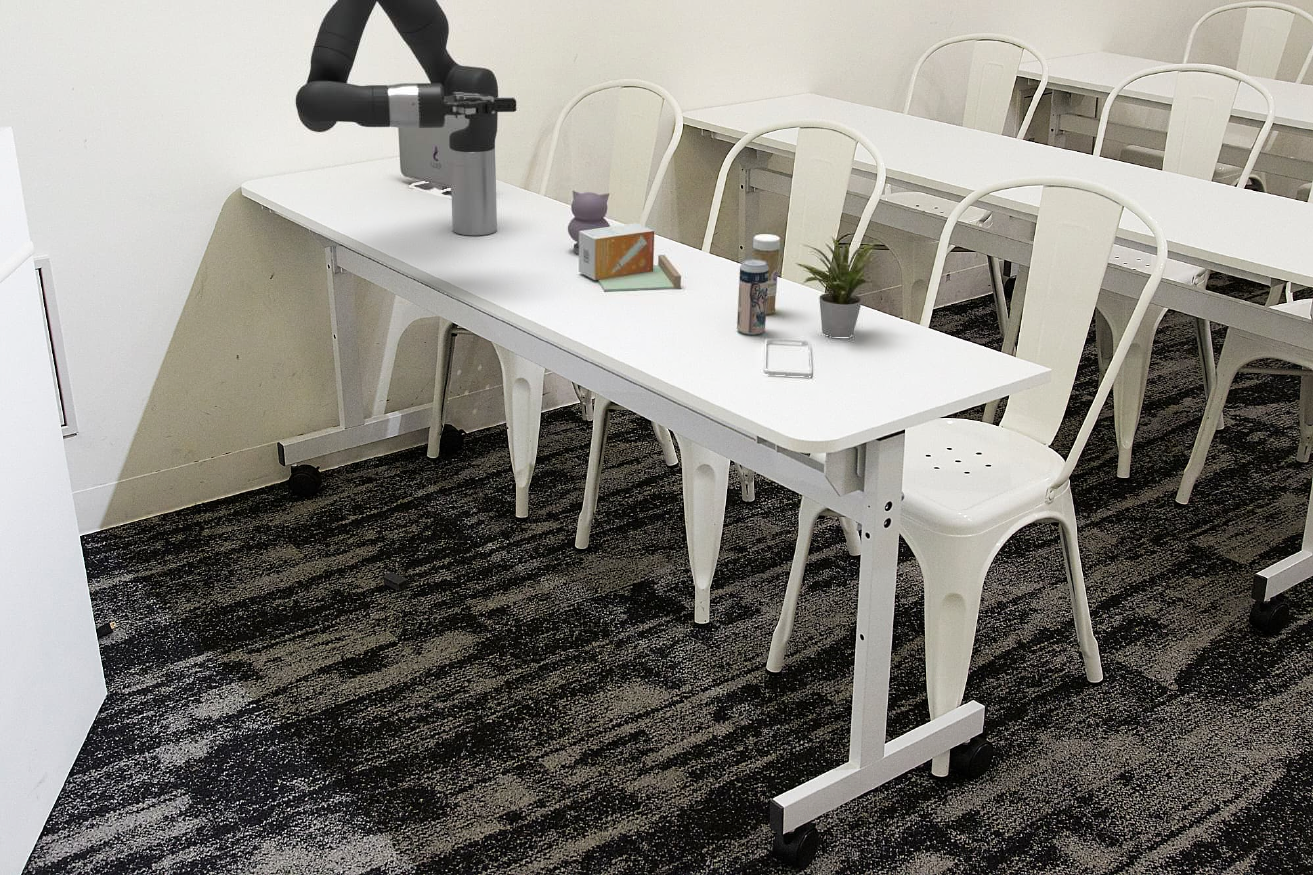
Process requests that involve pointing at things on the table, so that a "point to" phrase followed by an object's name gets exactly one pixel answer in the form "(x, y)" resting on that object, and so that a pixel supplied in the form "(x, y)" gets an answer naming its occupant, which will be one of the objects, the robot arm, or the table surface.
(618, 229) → the small box
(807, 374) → the white phone case
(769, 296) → the sprinkles bottle
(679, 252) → the table surface
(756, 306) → the beer can
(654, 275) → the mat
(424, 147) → the network device
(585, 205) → the cat figurine
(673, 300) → the table surface
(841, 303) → the house plant
